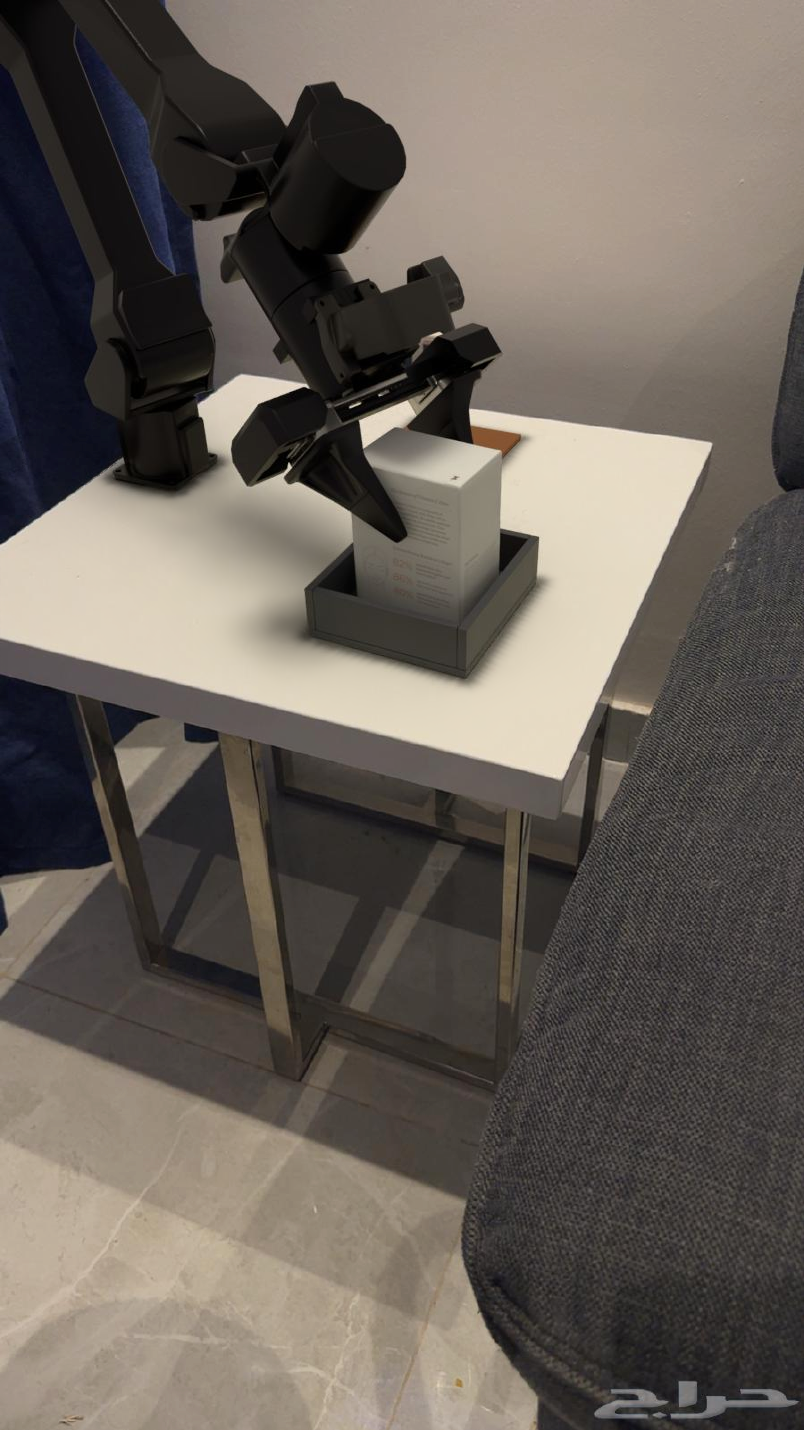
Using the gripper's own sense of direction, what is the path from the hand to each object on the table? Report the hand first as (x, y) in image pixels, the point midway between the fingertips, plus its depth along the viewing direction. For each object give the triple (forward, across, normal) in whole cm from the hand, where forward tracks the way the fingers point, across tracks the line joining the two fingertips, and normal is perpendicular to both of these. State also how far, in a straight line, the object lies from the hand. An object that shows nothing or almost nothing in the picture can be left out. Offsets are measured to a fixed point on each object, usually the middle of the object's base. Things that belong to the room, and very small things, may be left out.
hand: (441, 519), depth 64 cm
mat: (-7, +19, +17) cm, 27 cm away
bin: (+4, 0, +6) cm, 7 cm away
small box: (+4, 0, +6) cm, 7 cm away
